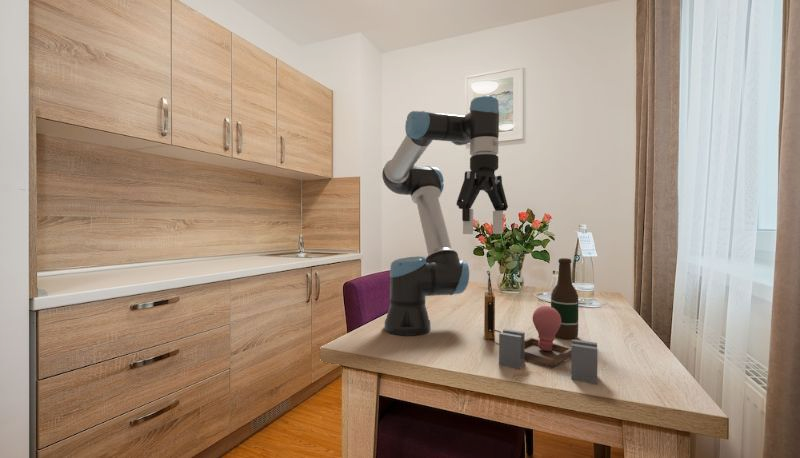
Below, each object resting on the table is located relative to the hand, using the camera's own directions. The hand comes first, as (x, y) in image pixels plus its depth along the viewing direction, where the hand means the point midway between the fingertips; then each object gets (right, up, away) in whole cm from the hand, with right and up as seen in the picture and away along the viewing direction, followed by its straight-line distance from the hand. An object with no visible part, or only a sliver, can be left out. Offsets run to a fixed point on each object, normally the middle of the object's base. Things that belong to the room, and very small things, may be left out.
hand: (483, 234), depth 95 cm
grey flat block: (+19, -32, -17) cm, 40 cm away
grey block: (+5, -32, -9) cm, 33 cm away
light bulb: (+17, -32, -1) cm, 36 cm away
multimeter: (+8, -32, +12) cm, 35 cm away
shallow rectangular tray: (+15, -32, -3) cm, 35 cm away
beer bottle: (+28, -32, +13) cm, 45 cm away
